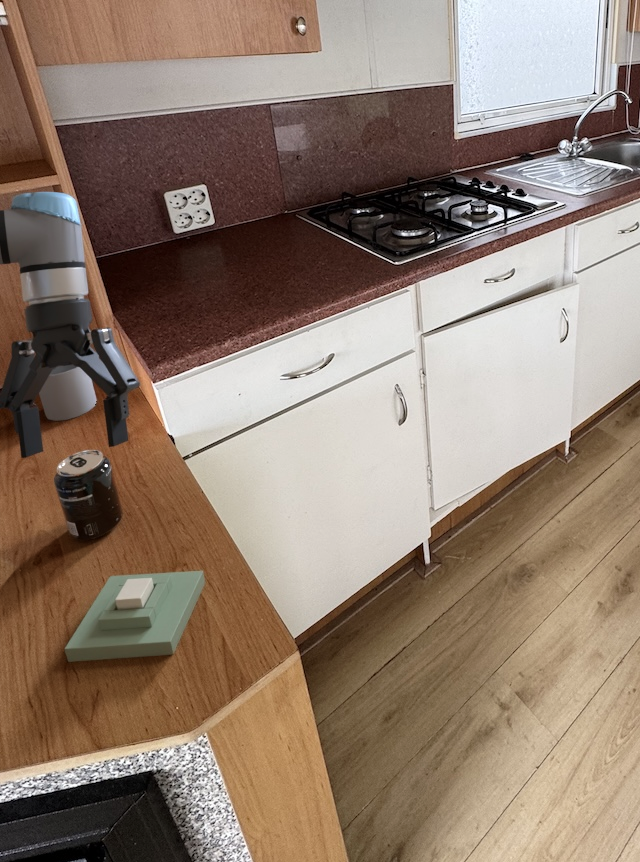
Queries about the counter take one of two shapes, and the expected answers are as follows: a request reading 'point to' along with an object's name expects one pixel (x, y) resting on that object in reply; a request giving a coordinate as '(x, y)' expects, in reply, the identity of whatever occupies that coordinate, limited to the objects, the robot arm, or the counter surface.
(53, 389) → the cup
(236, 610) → the counter surface
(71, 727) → the counter surface
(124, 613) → the tiered green stack
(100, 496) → the beverage can
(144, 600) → the small white rectangular block
